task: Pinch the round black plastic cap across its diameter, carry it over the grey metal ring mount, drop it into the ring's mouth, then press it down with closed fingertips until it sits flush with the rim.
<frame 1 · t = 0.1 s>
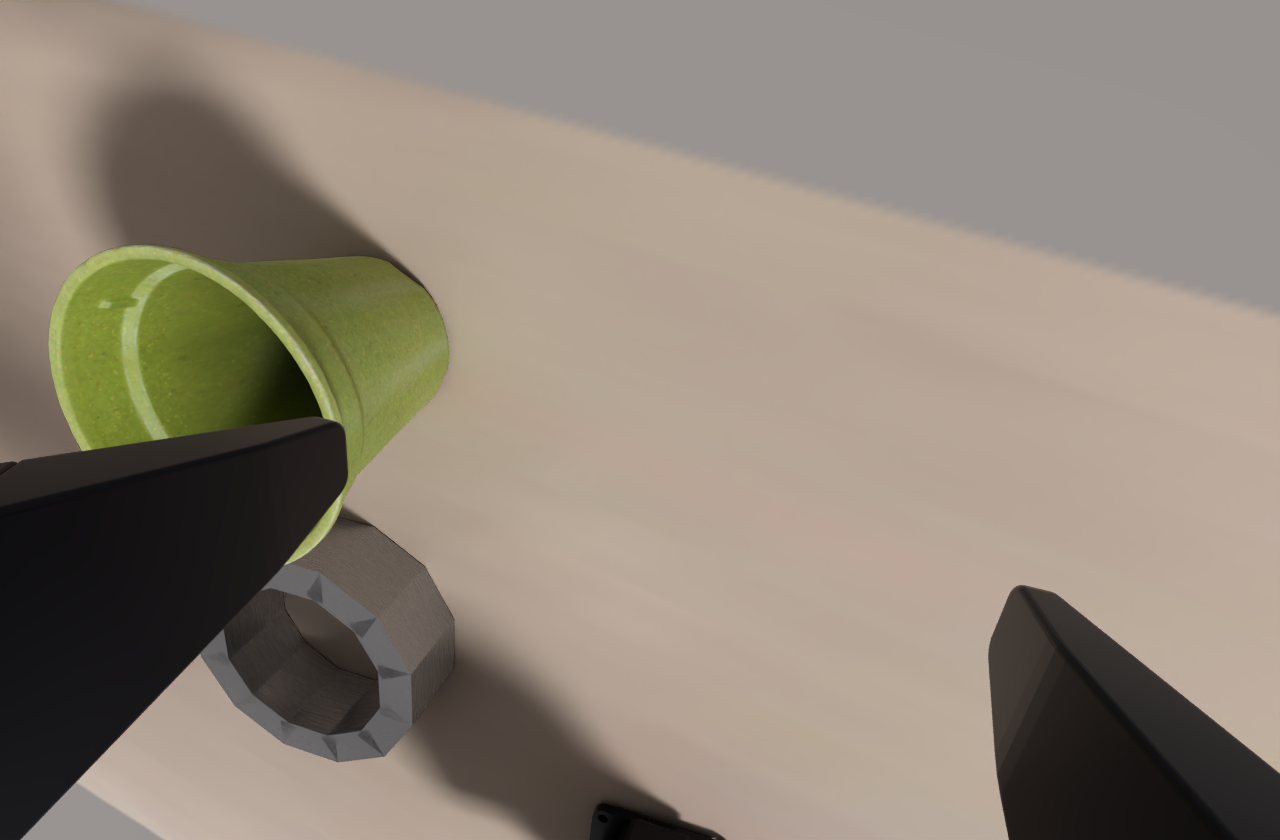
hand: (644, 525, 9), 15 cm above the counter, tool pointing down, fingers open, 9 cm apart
plant pot: (381, 334, 27), on the counter
ring mount: (352, 613, 33), on the counter
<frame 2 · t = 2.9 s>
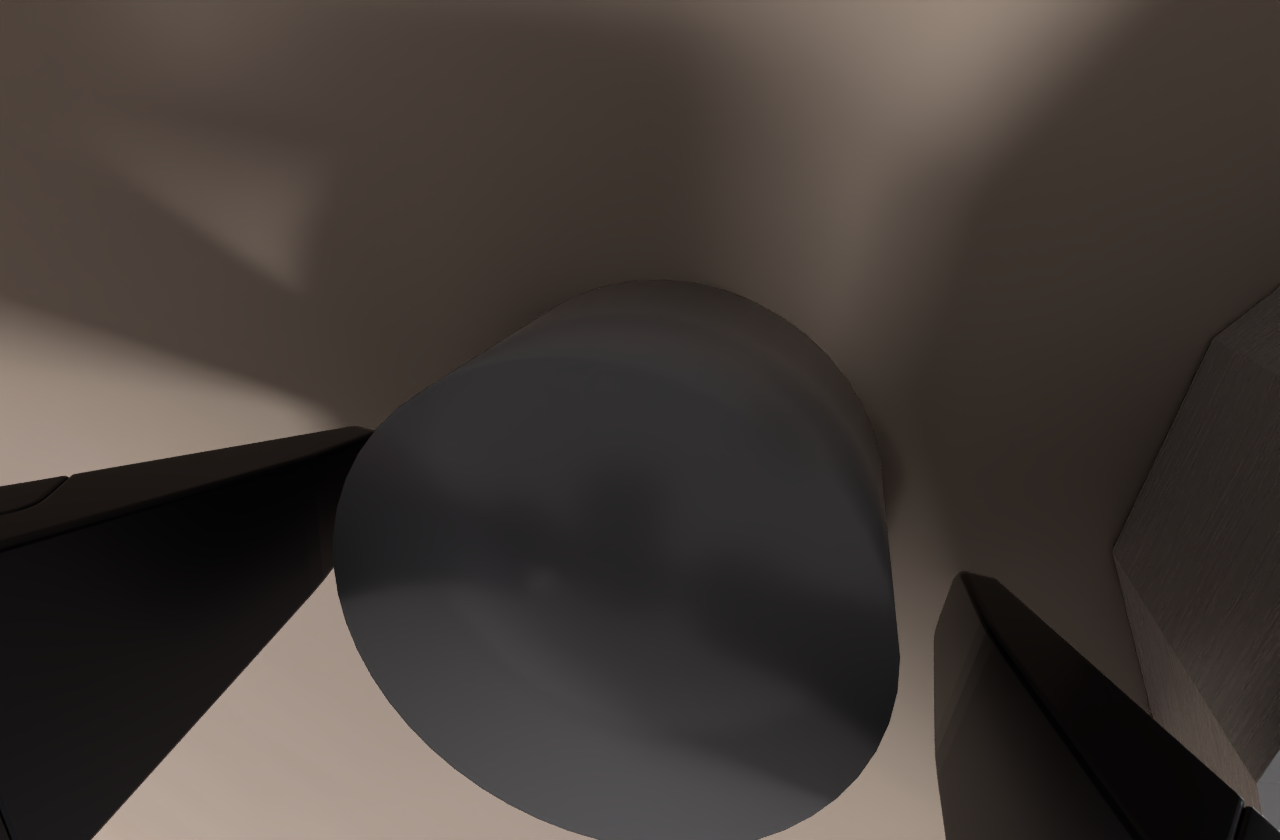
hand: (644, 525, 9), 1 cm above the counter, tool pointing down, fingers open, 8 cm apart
cap: (666, 482, 10), on the counter
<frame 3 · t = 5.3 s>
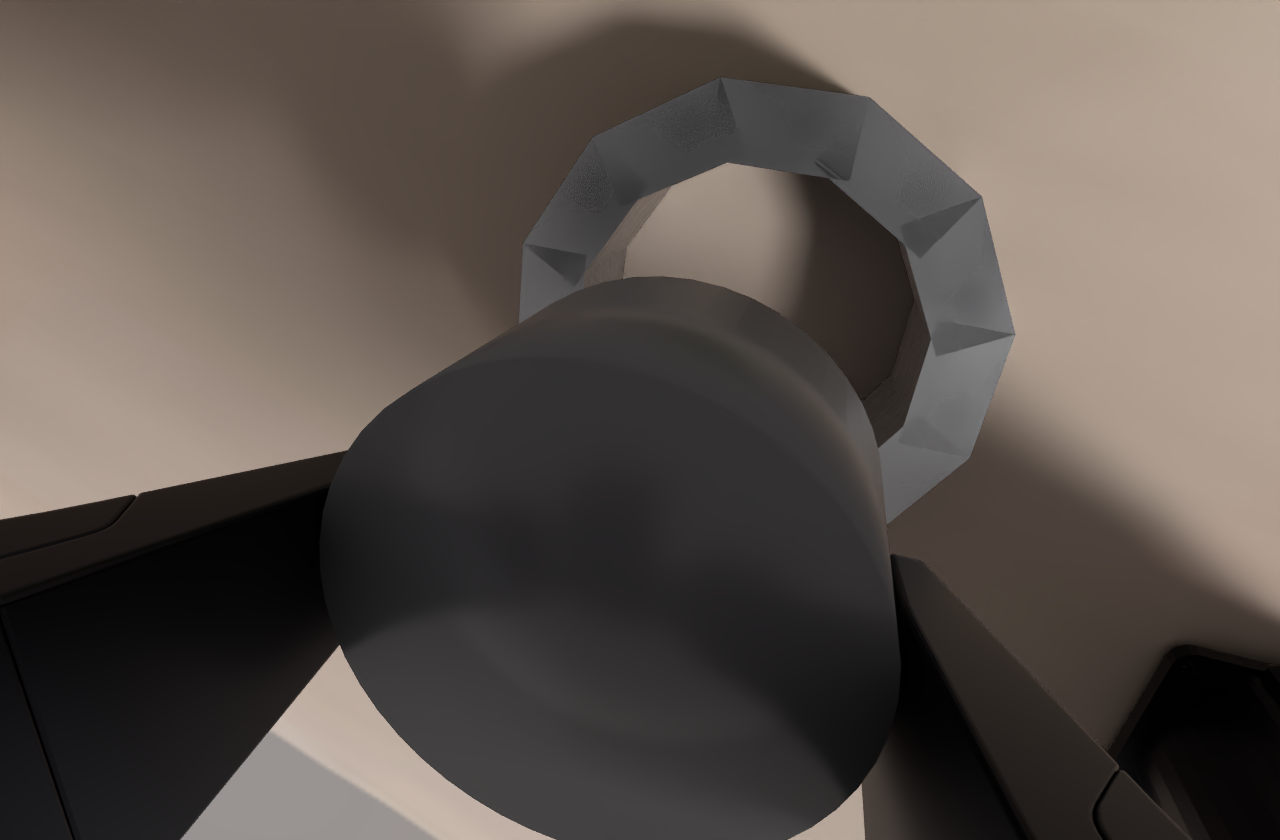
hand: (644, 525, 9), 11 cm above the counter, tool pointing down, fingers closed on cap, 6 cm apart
cap: (662, 484, 10), point 10 cm above the counter, touching gripper
ring mount: (757, 309, 19), on the counter
when the fingers open (4 cm above the counter, at t = 7.1 s): cap drops 3 cm, resting in ring mount.
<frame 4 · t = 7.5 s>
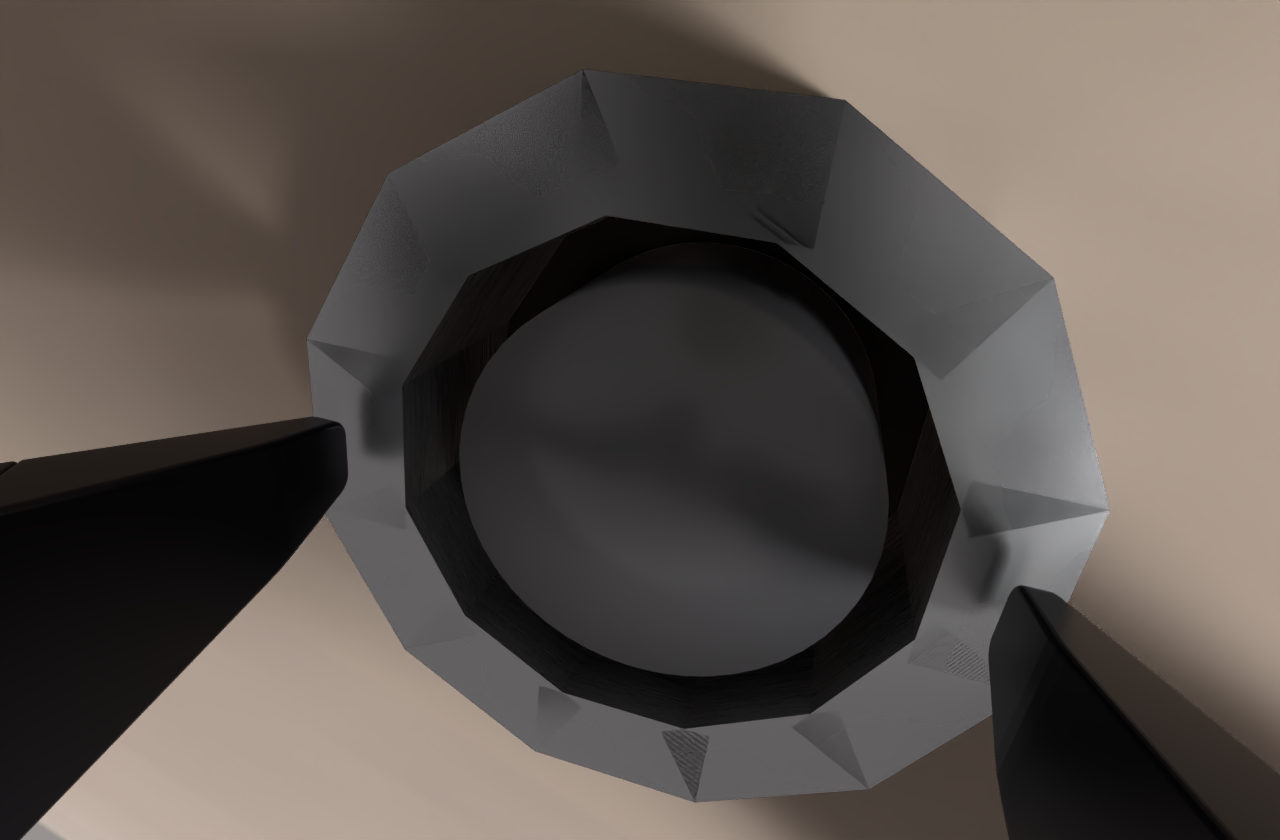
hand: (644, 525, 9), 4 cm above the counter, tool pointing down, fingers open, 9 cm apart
cap: (703, 409, 13), resting in ring mount
ring mount: (698, 413, 13), on the counter
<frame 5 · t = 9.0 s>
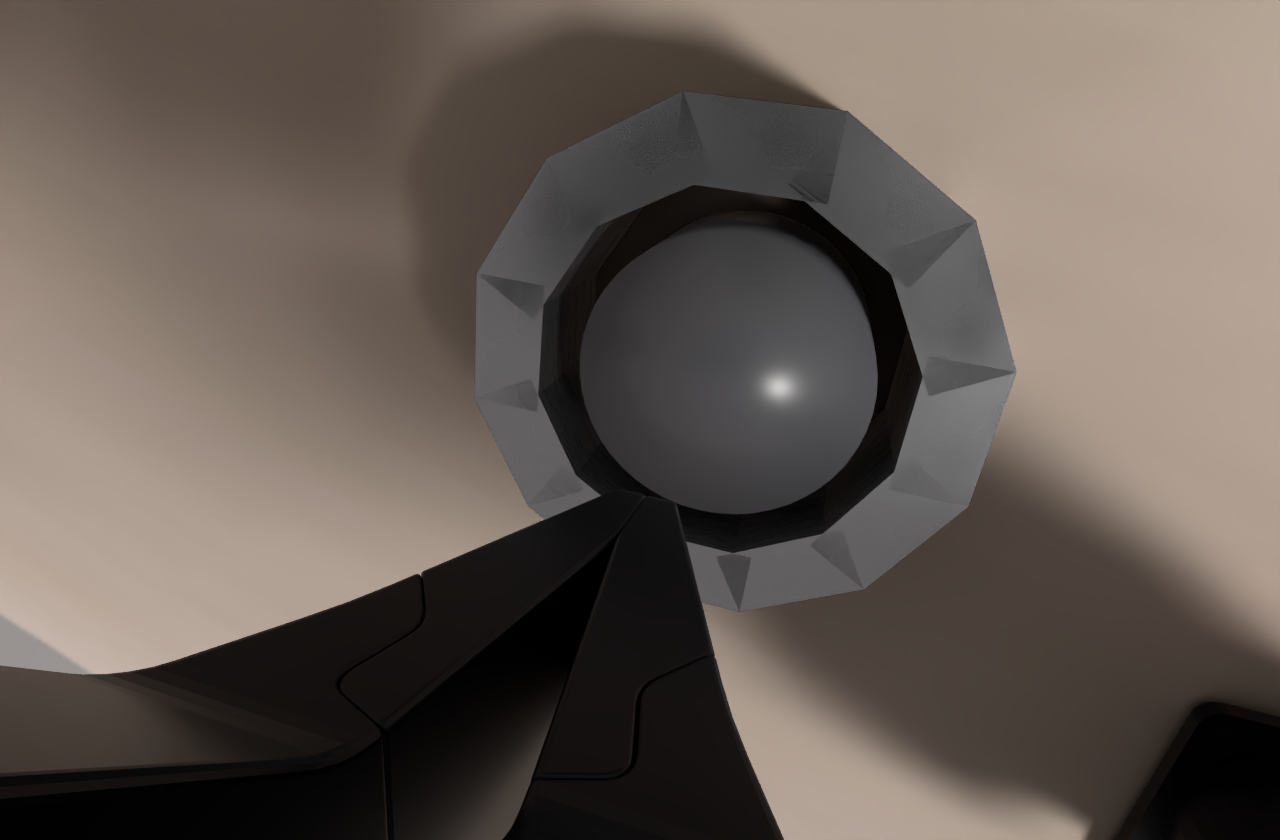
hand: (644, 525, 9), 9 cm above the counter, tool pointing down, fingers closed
cap: (741, 336, 17), resting in ring mount
ring mount: (738, 339, 17), on the counter
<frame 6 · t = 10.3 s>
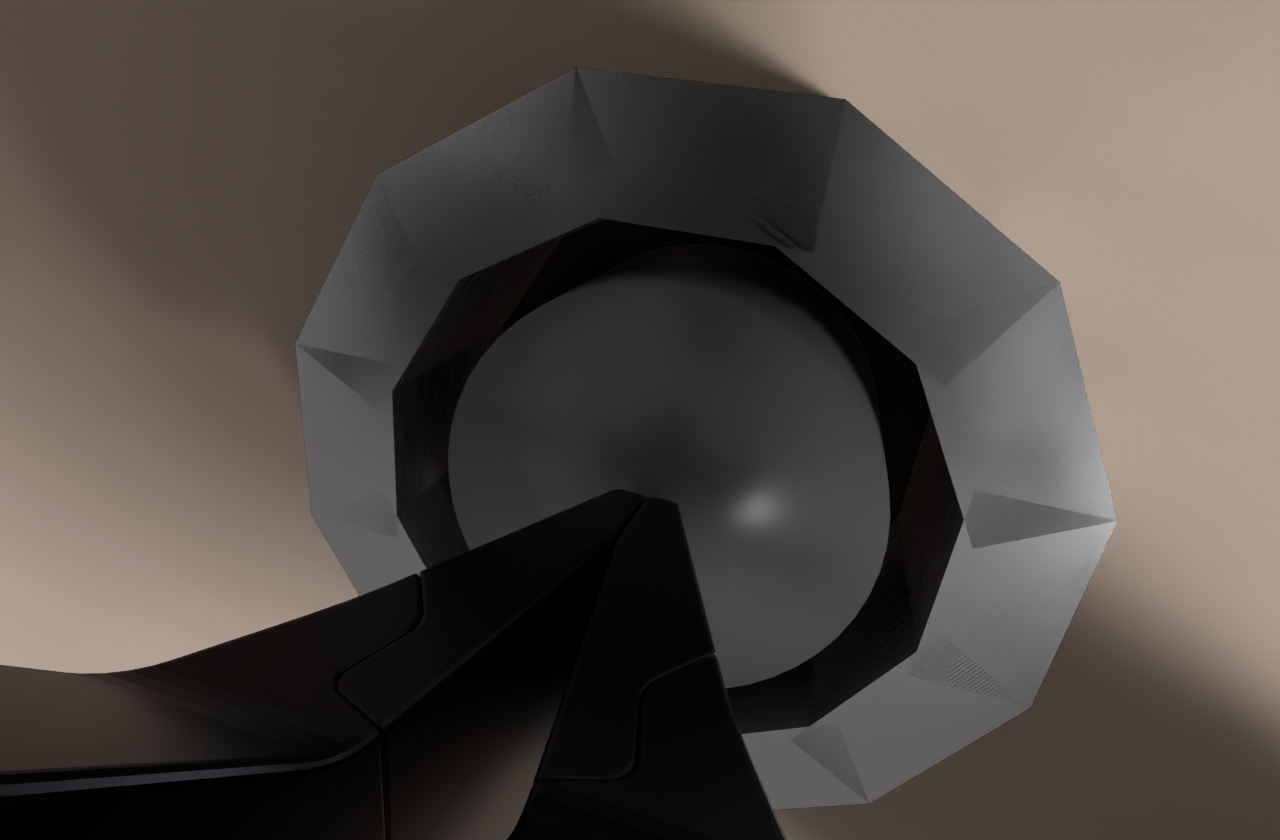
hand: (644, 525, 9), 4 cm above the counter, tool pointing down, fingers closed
cap: (700, 416, 13), resting in ring mount
ring mount: (695, 418, 12), on the counter
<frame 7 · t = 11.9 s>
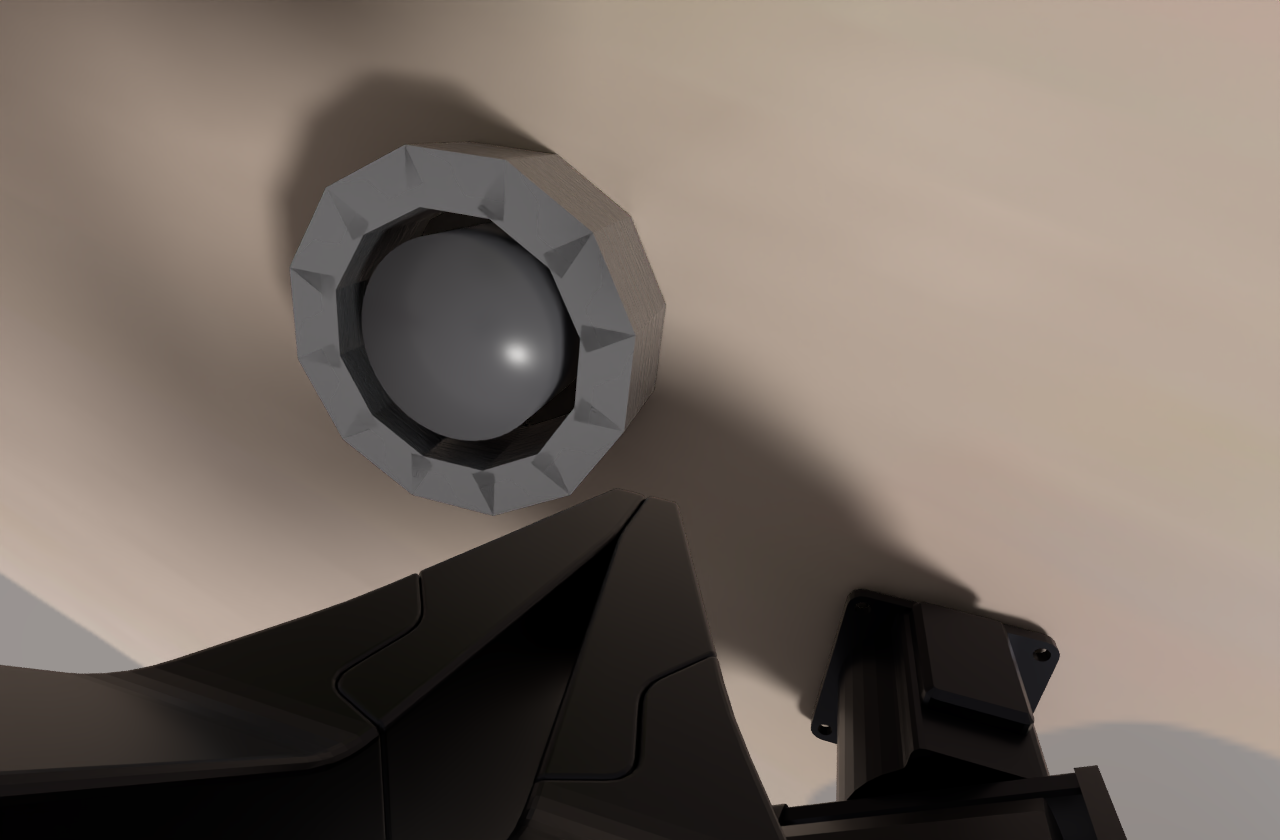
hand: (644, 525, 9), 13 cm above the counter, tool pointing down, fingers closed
cap: (508, 316, 23), resting in ring mount
ring mount: (506, 317, 23), on the counter
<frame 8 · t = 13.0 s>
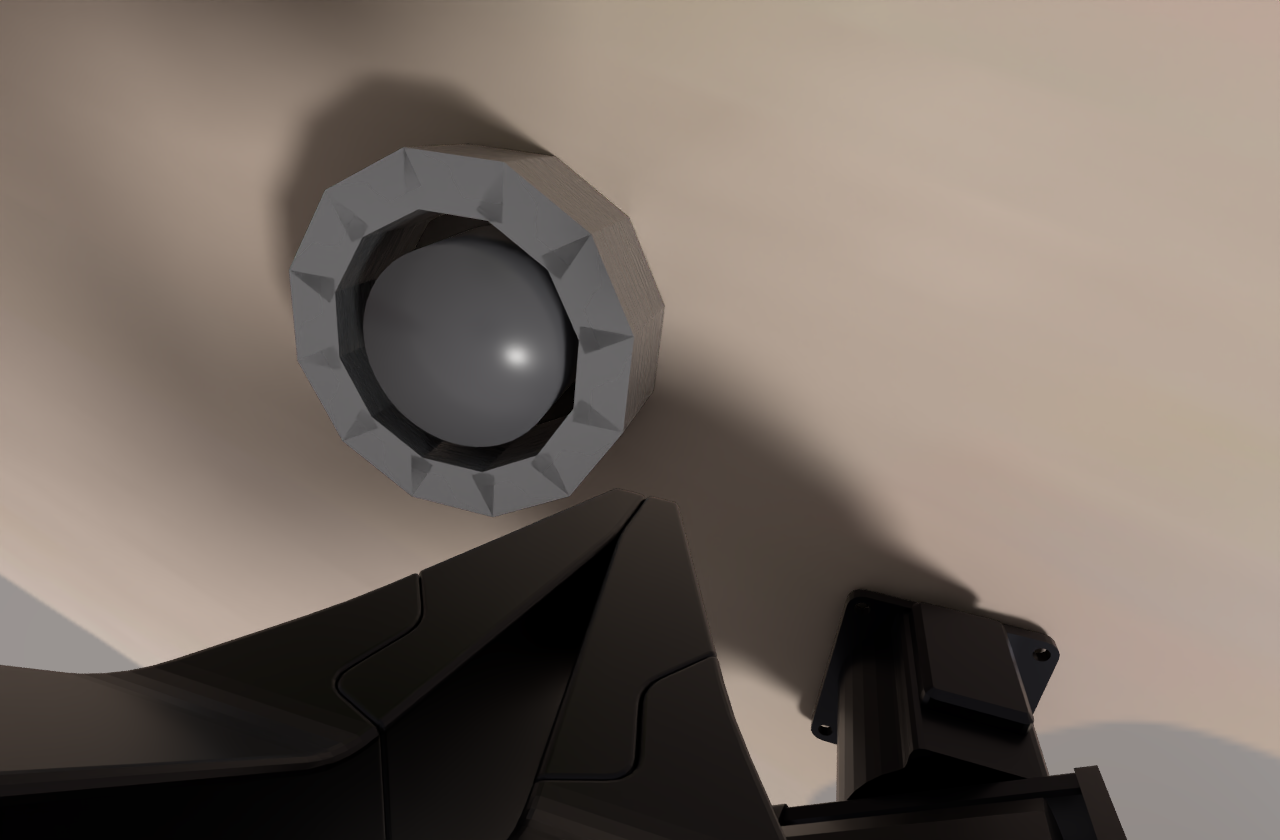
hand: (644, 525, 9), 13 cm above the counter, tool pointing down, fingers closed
cap: (507, 318, 23), resting in ring mount
ring mount: (505, 319, 23), on the counter
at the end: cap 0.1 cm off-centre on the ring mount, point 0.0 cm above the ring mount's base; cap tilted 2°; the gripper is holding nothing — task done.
